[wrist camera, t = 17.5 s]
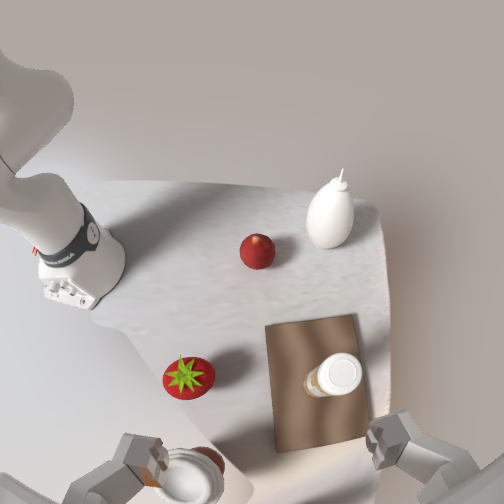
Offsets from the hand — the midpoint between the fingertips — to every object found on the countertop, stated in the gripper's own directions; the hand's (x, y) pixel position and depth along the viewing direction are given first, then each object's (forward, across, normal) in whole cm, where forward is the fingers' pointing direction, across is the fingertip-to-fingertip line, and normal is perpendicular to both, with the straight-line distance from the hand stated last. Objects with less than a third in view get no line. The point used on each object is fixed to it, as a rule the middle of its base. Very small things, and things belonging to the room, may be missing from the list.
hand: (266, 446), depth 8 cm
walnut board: (+25, -8, +20) cm, 33 cm away
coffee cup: (+16, +10, +28) cm, 34 cm away
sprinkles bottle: (+24, -8, +19) cm, 31 cm away
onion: (+40, -1, +4) cm, 41 cm away
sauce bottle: (+43, -13, +2) cm, 45 cm away
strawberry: (+26, +10, +18) cm, 34 cm away
